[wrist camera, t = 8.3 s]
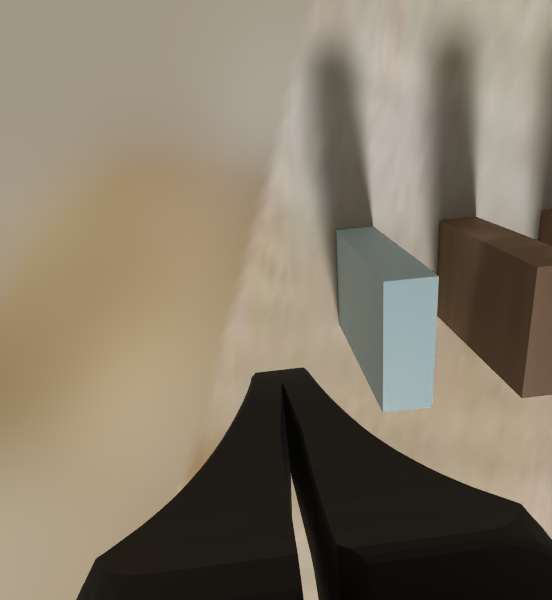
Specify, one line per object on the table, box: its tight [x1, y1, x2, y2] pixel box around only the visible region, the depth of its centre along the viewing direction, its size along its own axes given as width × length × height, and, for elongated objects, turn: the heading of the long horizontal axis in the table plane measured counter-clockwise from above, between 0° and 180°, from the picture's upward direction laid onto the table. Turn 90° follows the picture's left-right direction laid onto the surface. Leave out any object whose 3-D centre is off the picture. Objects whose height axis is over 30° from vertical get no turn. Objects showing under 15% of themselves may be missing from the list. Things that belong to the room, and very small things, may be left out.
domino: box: [437, 217, 552, 398], centre depth 17 cm, size 2×4×7 cm, turn 5°
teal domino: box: [336, 227, 439, 412], centre depth 17 cm, size 2×4×7 cm, turn 4°
